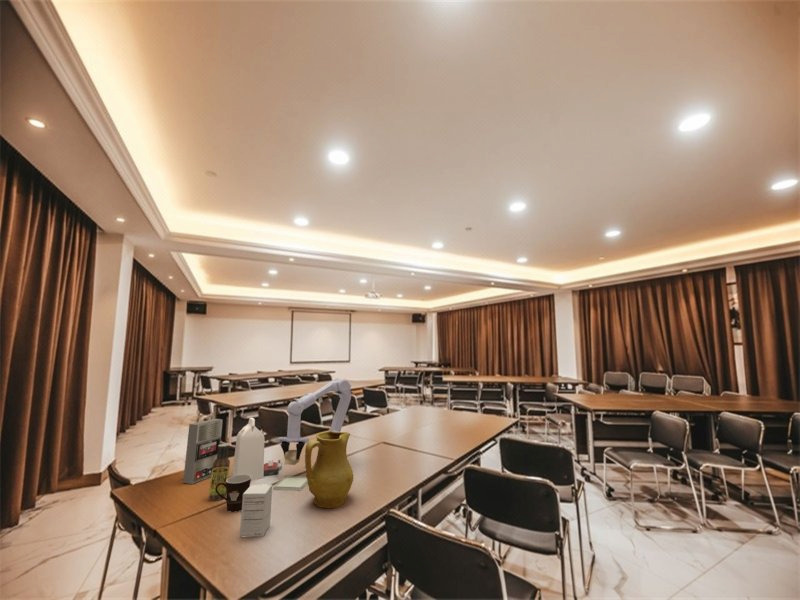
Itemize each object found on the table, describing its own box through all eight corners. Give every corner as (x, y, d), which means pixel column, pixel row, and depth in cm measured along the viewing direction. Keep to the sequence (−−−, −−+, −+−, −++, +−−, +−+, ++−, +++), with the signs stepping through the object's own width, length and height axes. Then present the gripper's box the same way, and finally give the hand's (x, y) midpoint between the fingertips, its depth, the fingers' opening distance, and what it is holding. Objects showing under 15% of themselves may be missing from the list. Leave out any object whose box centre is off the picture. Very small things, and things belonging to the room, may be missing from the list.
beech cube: (299, 461, 151) (300, 450, 152) (294, 464, 146) (295, 453, 147) (289, 460, 152) (290, 449, 152) (284, 464, 147) (285, 452, 148)
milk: (263, 478, 148) (267, 419, 153) (235, 483, 142) (241, 422, 146) (258, 470, 158) (262, 415, 162) (232, 475, 151) (236, 417, 156)
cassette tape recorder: (192, 484, 140) (198, 425, 145) (182, 483, 142) (188, 424, 147) (219, 474, 153) (224, 419, 158) (209, 472, 155) (214, 418, 159)
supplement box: (247, 525, 106) (250, 484, 109) (270, 524, 107) (273, 483, 109) (238, 537, 99) (242, 493, 101) (263, 536, 100) (266, 492, 102)
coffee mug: (254, 504, 121) (256, 476, 123) (236, 515, 113) (238, 484, 115) (230, 500, 125) (233, 472, 127) (211, 510, 117) (214, 480, 119)
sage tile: (311, 479, 146) (311, 477, 146) (300, 490, 134) (300, 487, 135) (285, 478, 147) (285, 476, 147) (273, 489, 135) (273, 486, 136)
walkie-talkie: (282, 476, 152) (281, 463, 170) (282, 466, 153) (281, 454, 171) (262, 478, 149) (263, 465, 167) (262, 468, 149) (264, 456, 168)
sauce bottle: (207, 502, 123) (212, 447, 127) (209, 496, 129) (214, 443, 132) (226, 499, 126) (230, 445, 129) (227, 493, 131) (232, 442, 135)
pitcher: (353, 509, 117) (355, 437, 122) (300, 513, 114) (304, 439, 119) (352, 490, 134) (354, 427, 138) (306, 493, 131) (309, 429, 135)
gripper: (275, 429, 148) (273, 461, 146) (305, 430, 147) (303, 462, 144) (282, 426, 155) (280, 456, 153) (311, 427, 154) (309, 457, 151)
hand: (292, 458), depth 149 cm, fingers closed on beech cube, 5 cm apart
